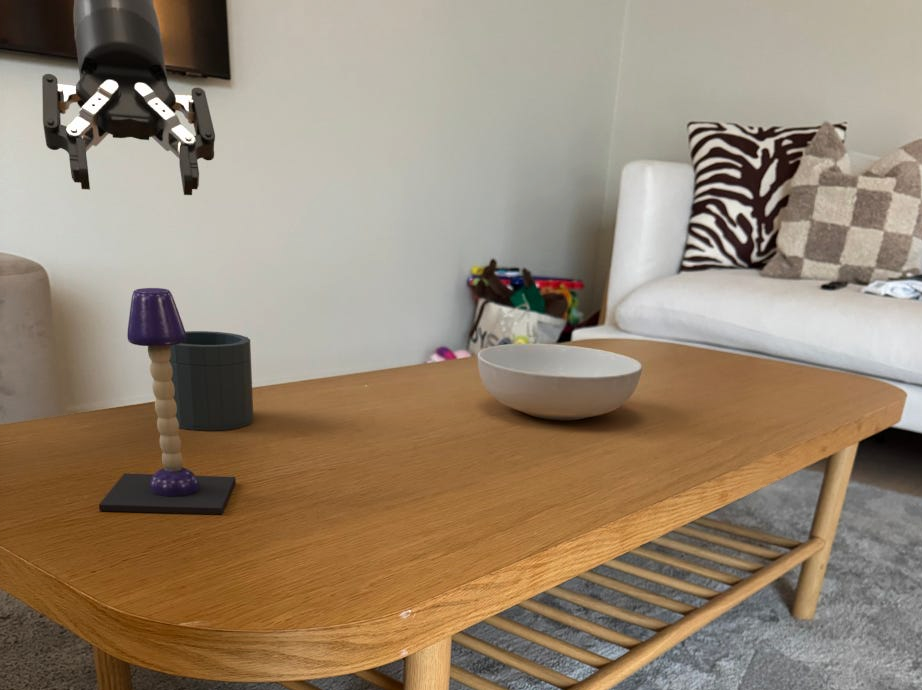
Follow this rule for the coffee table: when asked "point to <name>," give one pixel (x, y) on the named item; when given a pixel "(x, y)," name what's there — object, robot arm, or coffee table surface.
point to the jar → (212, 381)
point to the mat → (138, 497)
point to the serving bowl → (558, 379)
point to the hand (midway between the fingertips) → (137, 185)
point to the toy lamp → (162, 382)
